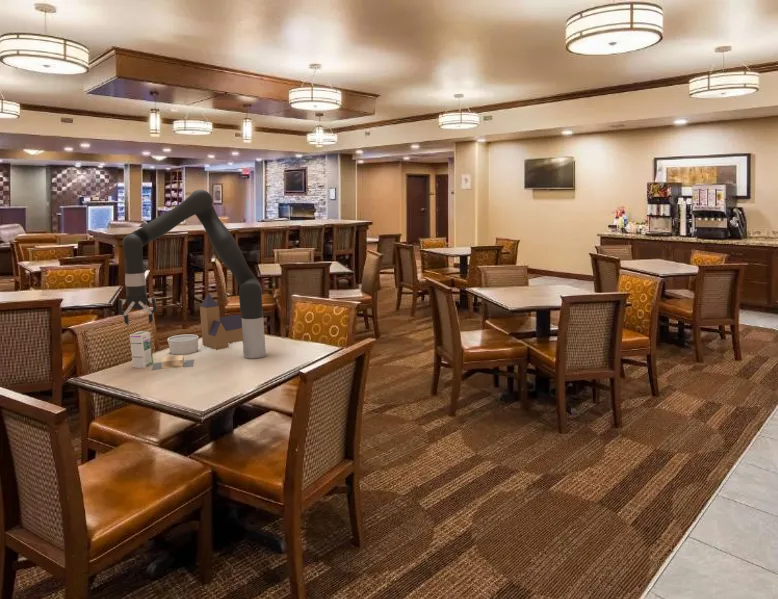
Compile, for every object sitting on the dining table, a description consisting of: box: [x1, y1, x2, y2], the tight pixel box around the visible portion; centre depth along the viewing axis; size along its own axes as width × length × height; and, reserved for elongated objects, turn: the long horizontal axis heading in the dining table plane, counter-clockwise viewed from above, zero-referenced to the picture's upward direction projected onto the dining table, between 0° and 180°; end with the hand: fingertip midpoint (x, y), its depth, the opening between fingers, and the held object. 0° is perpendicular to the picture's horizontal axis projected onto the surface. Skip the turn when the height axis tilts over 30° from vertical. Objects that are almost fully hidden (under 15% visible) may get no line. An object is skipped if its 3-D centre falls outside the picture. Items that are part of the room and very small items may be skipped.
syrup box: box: [129, 330, 154, 369], centre depth 243 cm, size 6×6×14 cm
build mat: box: [151, 359, 195, 371], centre depth 244 cm, size 16×11×1 cm
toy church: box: [199, 292, 243, 351], centre depth 279 cm, size 12×19×25 cm, turn 136°
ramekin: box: [167, 333, 200, 356], centre depth 266 cm, size 13×13×7 cm
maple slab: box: [161, 354, 185, 370], centre depth 243 cm, size 8×8×3 cm
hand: (139, 323), depth 241 cm, fingers open, 8 cm apart
